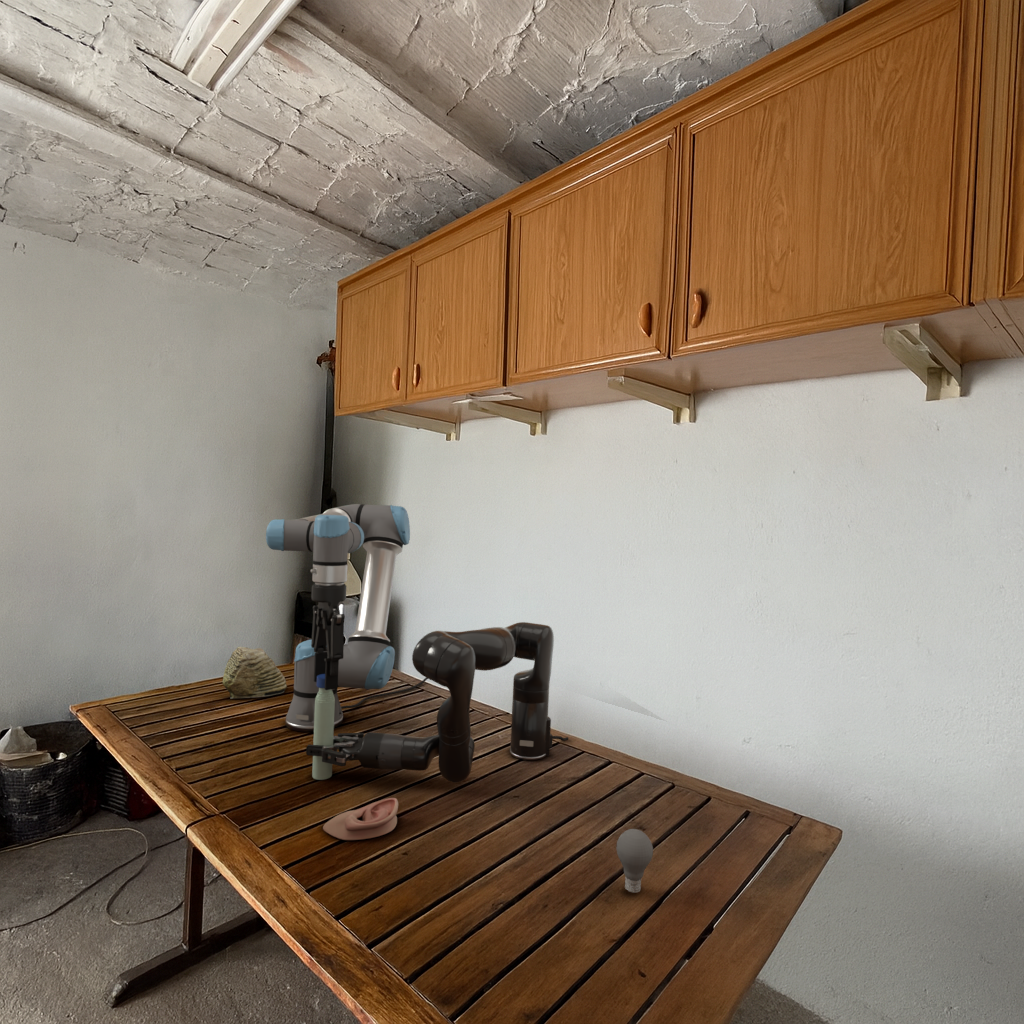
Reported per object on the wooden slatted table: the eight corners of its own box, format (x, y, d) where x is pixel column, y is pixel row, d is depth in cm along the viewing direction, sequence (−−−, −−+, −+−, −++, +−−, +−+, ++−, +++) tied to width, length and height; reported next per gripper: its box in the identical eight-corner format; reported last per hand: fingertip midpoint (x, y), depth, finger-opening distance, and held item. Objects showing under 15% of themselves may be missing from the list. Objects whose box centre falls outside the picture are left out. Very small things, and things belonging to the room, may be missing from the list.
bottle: (307, 776, 143) (311, 679, 143) (322, 770, 147) (326, 675, 146) (321, 781, 141) (325, 682, 140) (336, 774, 145) (339, 678, 144)
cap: (325, 682, 146) (325, 672, 146) (338, 685, 144) (338, 675, 144) (312, 686, 143) (313, 676, 142) (325, 689, 141) (326, 679, 141)
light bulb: (610, 879, 108) (613, 822, 108) (644, 879, 109) (647, 822, 109) (619, 902, 102) (622, 840, 102) (655, 901, 103) (658, 840, 103)
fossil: (218, 695, 195) (220, 647, 195) (278, 685, 208) (279, 640, 207) (228, 703, 189) (230, 653, 188) (289, 692, 201) (290, 645, 201)
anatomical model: (315, 814, 118) (343, 787, 129) (314, 835, 118) (343, 807, 129) (382, 825, 115) (405, 796, 127) (381, 846, 116) (404, 816, 127)
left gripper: (299, 578, 148) (295, 676, 149) (328, 590, 133) (324, 699, 133) (330, 577, 153) (326, 672, 153) (362, 588, 137) (358, 693, 138)
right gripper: (394, 723, 150) (323, 718, 151) (376, 746, 135) (298, 741, 137) (392, 755, 150) (322, 749, 151) (375, 781, 135) (297, 775, 137)
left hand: (325, 684), depth 143 cm, fingers open, 6 cm apart
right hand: (311, 745), depth 144 cm, fingers closed on bottle, 4 cm apart
